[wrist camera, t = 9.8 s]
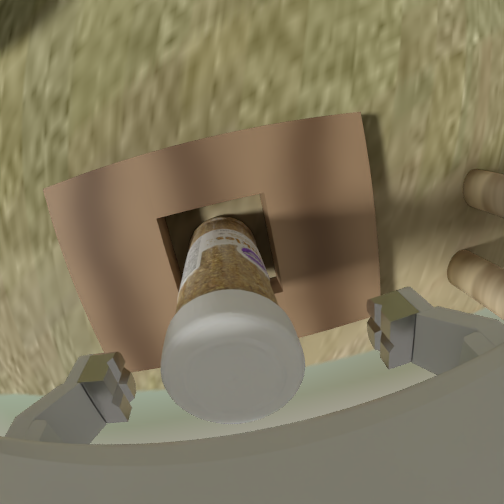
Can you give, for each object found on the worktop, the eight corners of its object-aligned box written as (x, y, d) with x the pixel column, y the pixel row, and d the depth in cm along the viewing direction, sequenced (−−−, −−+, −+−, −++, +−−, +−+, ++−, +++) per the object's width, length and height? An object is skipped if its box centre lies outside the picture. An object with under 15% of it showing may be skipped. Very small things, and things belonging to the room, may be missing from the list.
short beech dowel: (486, 167, 22) (526, 175, 18) (487, 204, 23) (526, 217, 19) (461, 170, 22) (503, 179, 17) (463, 210, 23) (503, 224, 19)
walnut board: (345, 114, 20) (360, 111, 18) (367, 298, 25) (380, 313, 22) (59, 184, 19) (43, 189, 17) (122, 355, 24) (115, 374, 21)
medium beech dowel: (475, 248, 24) (531, 276, 17) (470, 282, 26) (522, 316, 18) (449, 251, 24) (507, 283, 17) (445, 287, 25) (497, 326, 18)
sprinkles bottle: (267, 233, 22) (337, 350, 9) (235, 289, 23) (262, 441, 10) (206, 202, 21) (196, 290, 8) (176, 261, 22) (139, 402, 9)
